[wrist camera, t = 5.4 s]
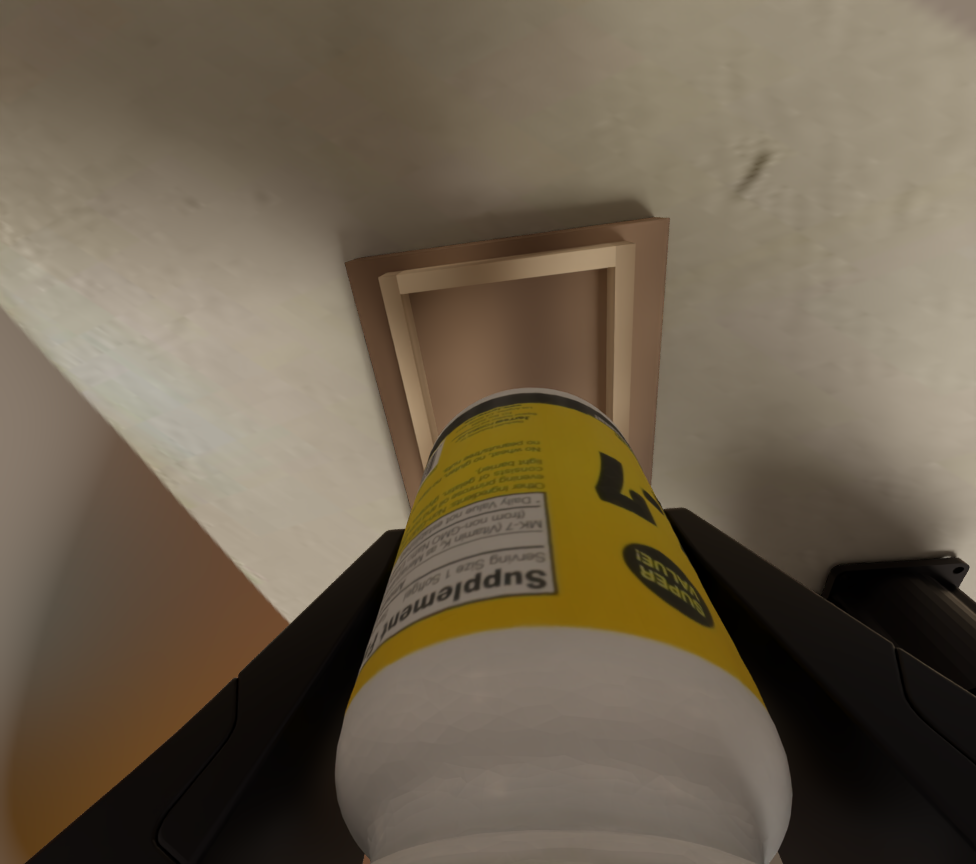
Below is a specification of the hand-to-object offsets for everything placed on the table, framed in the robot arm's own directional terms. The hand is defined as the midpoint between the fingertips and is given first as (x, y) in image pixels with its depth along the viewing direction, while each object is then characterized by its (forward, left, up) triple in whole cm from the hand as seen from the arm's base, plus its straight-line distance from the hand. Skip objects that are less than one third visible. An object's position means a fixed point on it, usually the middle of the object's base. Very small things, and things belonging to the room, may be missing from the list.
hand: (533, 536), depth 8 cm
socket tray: (0, +7, -11) cm, 13 cm away
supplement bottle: (0, 0, -2) cm, 2 cm away
